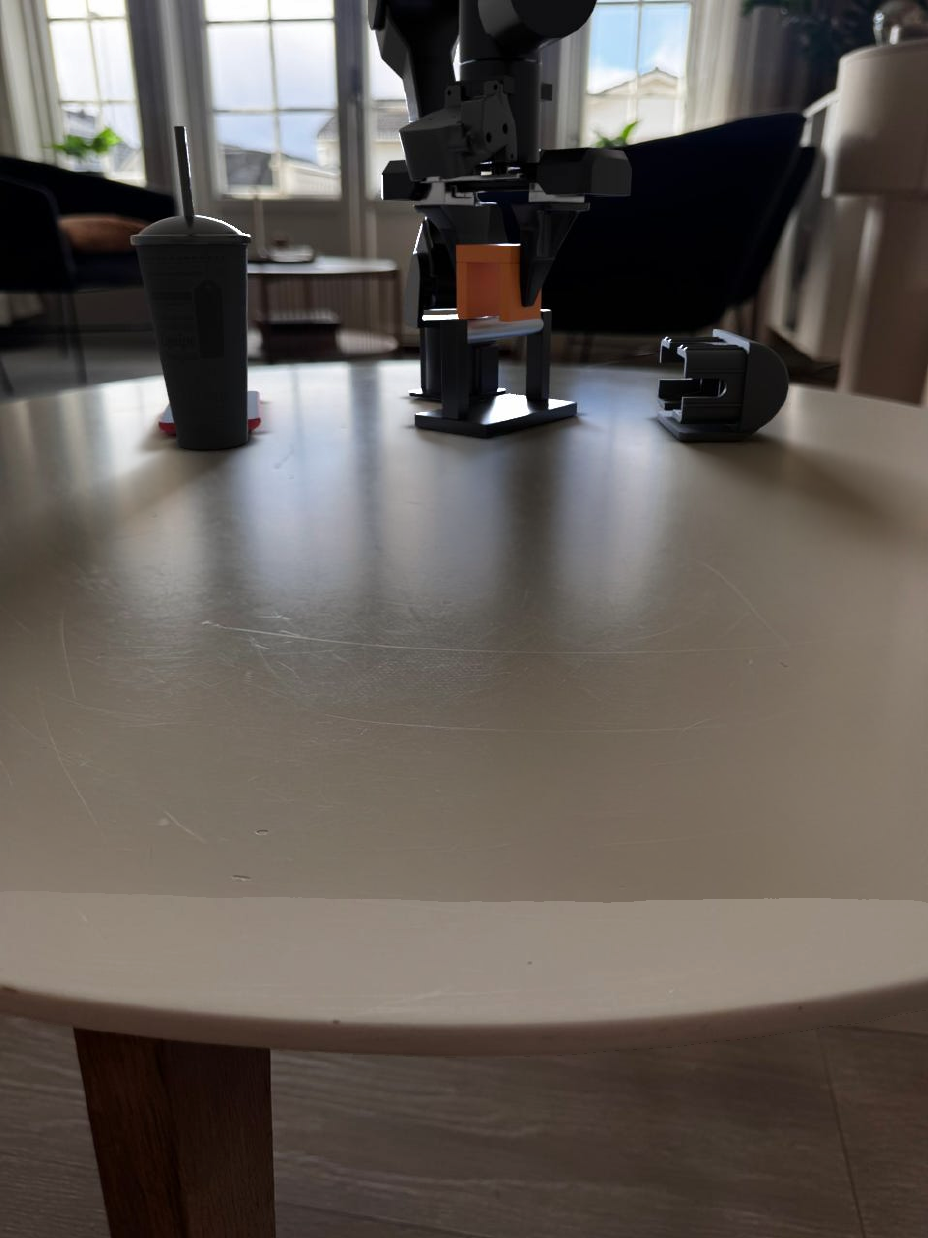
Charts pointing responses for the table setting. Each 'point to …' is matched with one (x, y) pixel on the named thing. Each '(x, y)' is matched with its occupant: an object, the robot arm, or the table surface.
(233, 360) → the drinking cup
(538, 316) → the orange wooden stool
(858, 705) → the table surface
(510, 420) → the rack
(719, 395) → the end cap
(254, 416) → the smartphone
